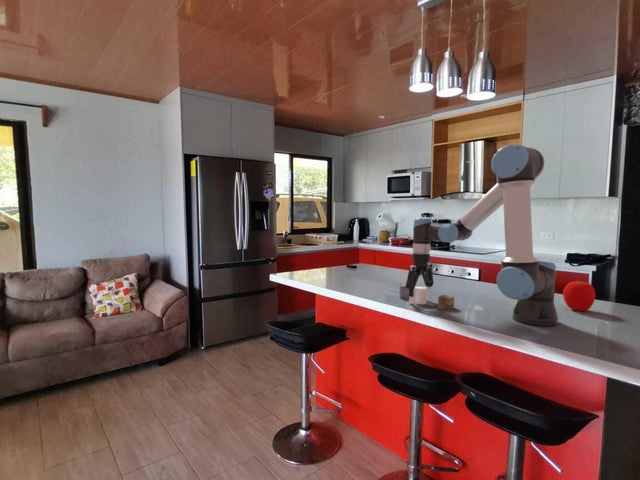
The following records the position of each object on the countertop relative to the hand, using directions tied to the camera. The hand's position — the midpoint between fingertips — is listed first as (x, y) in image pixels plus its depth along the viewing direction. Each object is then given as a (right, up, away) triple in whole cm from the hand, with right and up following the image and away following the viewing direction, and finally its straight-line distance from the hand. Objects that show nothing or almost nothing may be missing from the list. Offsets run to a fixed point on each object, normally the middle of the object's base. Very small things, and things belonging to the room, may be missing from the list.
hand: (419, 302), depth 168 cm
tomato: (+64, -2, -10) cm, 65 cm away
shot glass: (0, 0, 0) cm, 1 cm away
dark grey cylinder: (-5, +1, +9) cm, 10 cm away
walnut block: (+9, -1, -8) cm, 12 cm away
